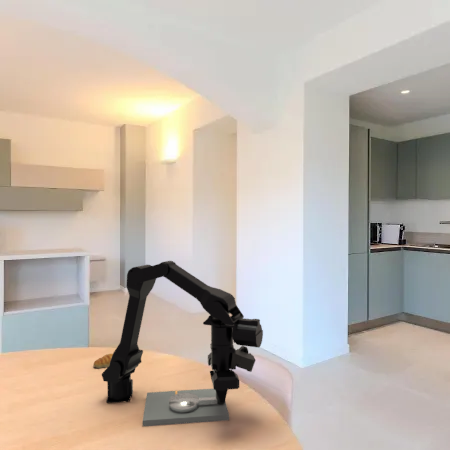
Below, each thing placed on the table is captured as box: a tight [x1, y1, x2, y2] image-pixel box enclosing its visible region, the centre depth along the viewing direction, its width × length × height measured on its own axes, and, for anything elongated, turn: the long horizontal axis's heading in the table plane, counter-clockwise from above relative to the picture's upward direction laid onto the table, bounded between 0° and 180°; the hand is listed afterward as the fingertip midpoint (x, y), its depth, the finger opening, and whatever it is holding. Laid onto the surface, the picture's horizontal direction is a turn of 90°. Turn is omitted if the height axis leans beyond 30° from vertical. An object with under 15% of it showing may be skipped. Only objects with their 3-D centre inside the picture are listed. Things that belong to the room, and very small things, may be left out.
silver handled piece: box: [169, 393, 225, 413], centre depth 106 cm, size 15×8×5 cm, turn 97°
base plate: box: [142, 388, 230, 427], centre depth 108 cm, size 22×16×2 cm
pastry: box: [93, 353, 113, 369], centre depth 141 cm, size 9×7×4 cm
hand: (222, 401), depth 102 cm, fingers closed
